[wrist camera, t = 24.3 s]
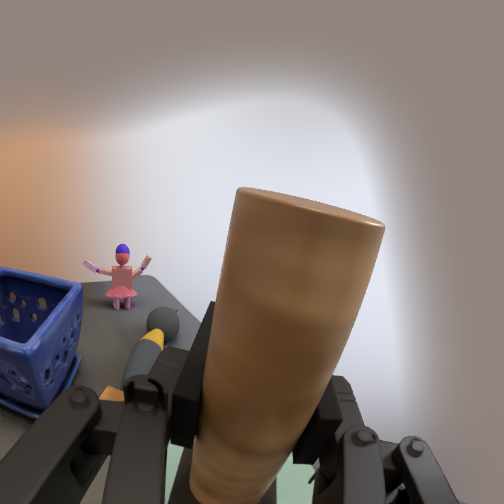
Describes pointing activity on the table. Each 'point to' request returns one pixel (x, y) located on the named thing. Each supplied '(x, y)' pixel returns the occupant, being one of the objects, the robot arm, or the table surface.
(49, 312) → the flower pot
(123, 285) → the figurine
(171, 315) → the paintbrush
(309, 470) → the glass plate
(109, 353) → the table surface
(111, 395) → the wooden cube
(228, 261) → the brush
